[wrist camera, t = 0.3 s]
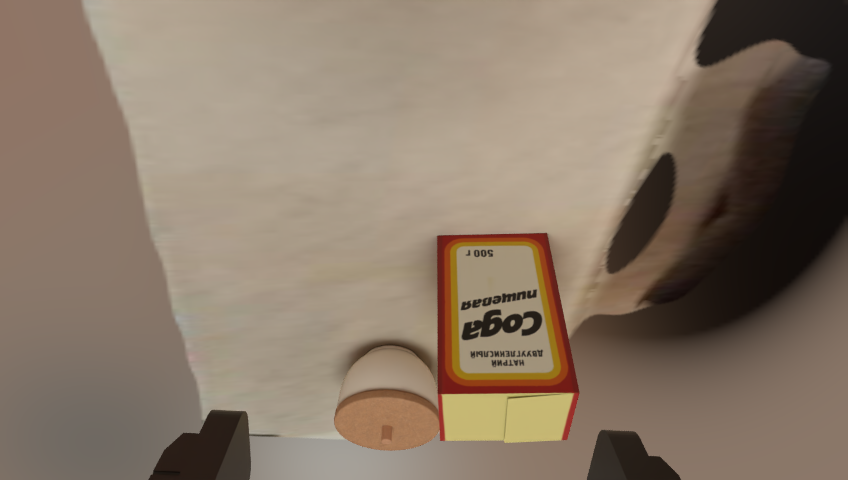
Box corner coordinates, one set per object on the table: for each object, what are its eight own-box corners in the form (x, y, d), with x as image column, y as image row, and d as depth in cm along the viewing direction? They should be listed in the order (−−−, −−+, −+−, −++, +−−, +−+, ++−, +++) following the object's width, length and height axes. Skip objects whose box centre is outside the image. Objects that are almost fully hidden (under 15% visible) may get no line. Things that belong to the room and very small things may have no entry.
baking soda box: (439, 285, 55) (440, 445, 43) (437, 235, 50) (437, 399, 39) (539, 283, 54) (567, 444, 43) (546, 233, 50) (580, 397, 38)
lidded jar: (459, 366, 64) (462, 447, 57) (386, 397, 69) (381, 475, 62) (397, 318, 58) (392, 401, 51) (322, 355, 63) (308, 436, 56)
